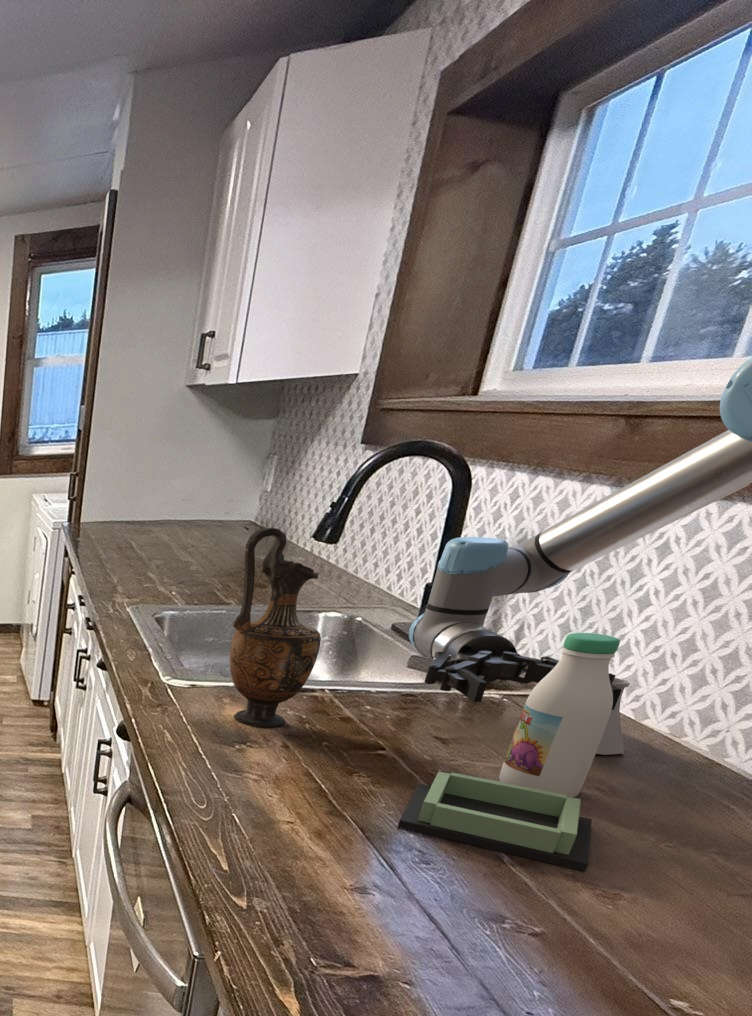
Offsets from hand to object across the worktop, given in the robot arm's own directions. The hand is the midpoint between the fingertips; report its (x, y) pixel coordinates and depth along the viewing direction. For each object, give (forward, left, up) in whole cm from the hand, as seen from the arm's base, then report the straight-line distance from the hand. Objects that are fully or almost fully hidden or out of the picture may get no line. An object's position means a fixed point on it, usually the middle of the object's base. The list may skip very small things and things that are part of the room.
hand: (546, 695), depth 106 cm
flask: (-6, -17, -11) cm, 22 cm away
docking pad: (+1, +22, -11) cm, 24 cm away
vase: (+32, -2, -11) cm, 34 cm away
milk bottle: (-2, +5, -11) cm, 12 cm away
